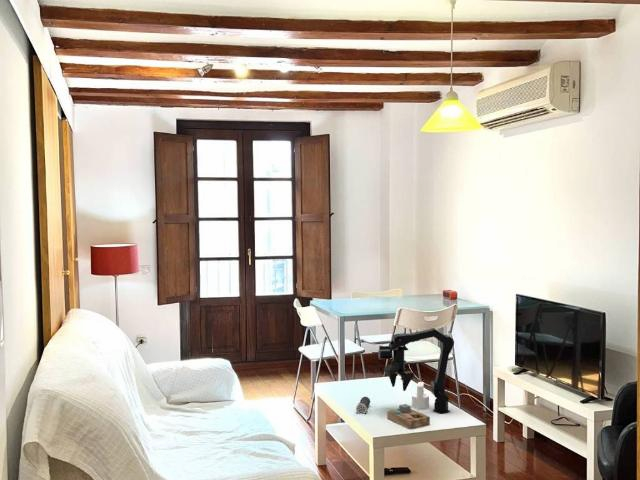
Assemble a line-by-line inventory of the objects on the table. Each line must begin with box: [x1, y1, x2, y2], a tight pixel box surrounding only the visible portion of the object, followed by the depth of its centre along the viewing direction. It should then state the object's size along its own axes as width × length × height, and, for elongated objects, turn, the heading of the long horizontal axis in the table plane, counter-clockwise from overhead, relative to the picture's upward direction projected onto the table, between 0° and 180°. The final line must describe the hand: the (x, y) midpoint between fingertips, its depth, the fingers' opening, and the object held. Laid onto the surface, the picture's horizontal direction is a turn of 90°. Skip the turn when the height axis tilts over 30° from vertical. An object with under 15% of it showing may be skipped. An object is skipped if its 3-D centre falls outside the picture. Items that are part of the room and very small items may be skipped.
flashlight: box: [355, 396, 371, 415], centre depth 340 cm, size 15×5×5 cm, turn 167°
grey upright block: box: [398, 403, 412, 414], centre depth 324 cm, size 4×4×7 cm
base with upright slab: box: [411, 381, 430, 410], centre depth 344 cm, size 9×9×12 cm
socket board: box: [387, 408, 431, 430], centre depth 320 cm, size 12×18×5 cm, turn 31°
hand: (398, 388), depth 334 cm, fingers open, 9 cm apart
